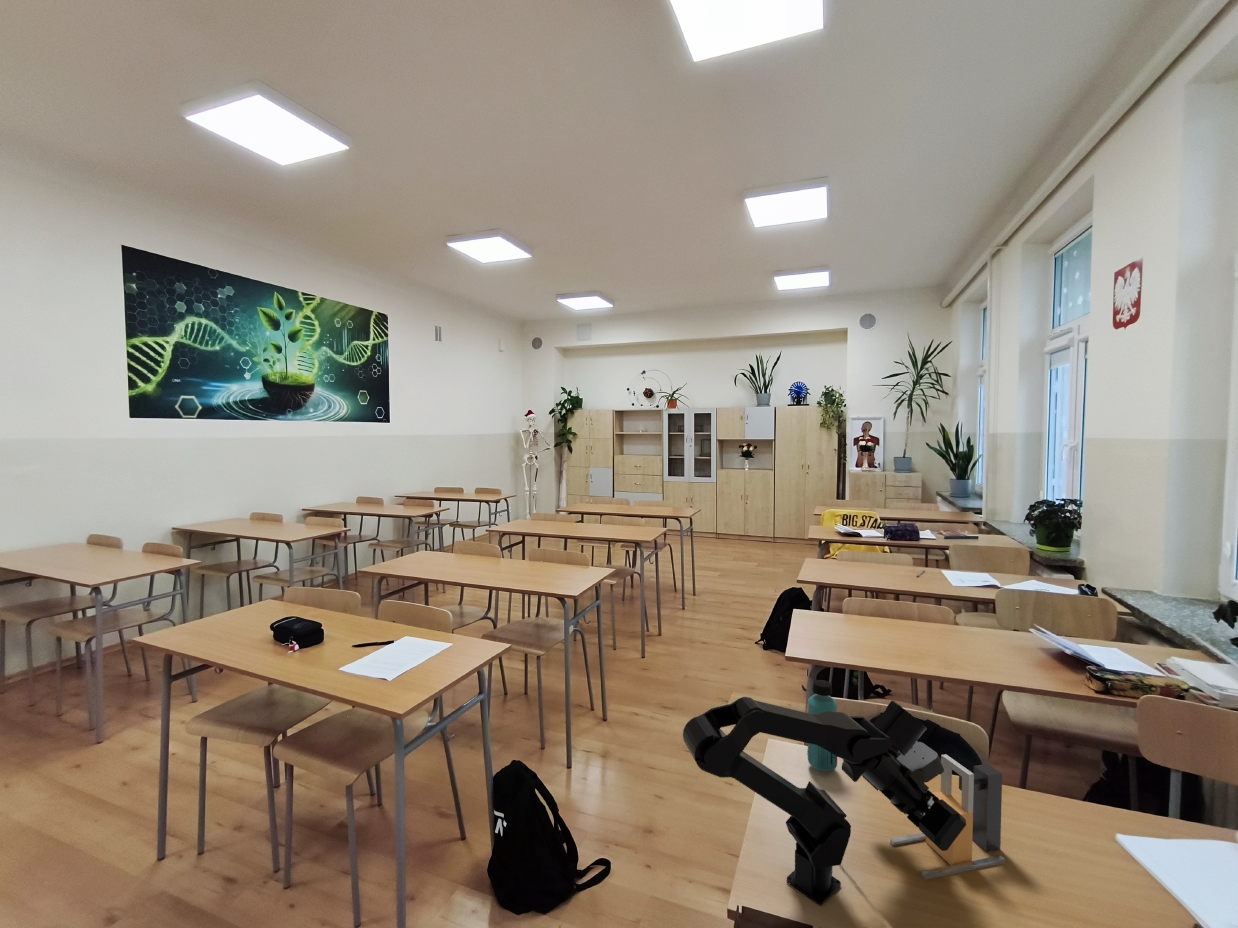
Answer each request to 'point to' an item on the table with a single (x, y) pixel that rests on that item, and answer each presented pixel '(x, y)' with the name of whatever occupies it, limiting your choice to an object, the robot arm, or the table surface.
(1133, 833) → the table surface
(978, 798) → the grey stand with block
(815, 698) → the beverage bottle
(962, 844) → the orange padlock
